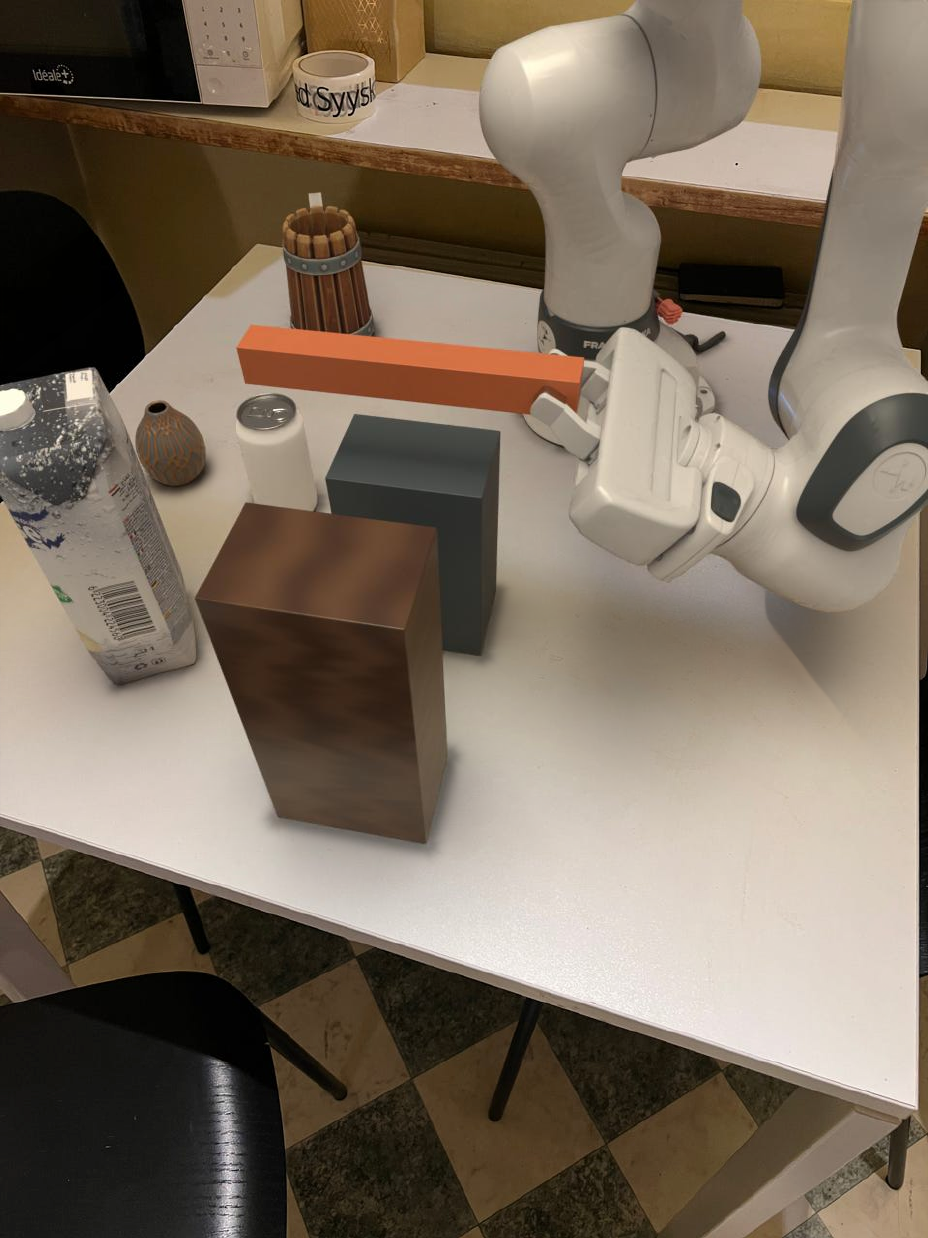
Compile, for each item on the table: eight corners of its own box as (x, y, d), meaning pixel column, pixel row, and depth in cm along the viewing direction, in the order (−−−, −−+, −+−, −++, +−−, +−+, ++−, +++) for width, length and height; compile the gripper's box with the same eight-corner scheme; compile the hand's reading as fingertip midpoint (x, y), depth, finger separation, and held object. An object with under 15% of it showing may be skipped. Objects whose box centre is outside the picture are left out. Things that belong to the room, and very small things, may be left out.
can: (307, 530, 88) (287, 435, 79) (247, 521, 89) (221, 427, 80) (326, 488, 92) (309, 394, 83) (268, 480, 93) (246, 386, 84)
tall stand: (447, 755, 71) (437, 527, 51) (426, 844, 66) (404, 630, 46) (308, 731, 73) (245, 501, 53) (276, 817, 68) (193, 598, 48)
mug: (379, 356, 108) (368, 238, 96) (294, 364, 107) (272, 247, 95) (367, 292, 118) (356, 178, 106) (290, 299, 117) (269, 185, 105)
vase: (180, 503, 91) (157, 436, 84) (133, 480, 93) (107, 413, 86) (225, 466, 95) (206, 399, 88) (179, 445, 97) (156, 379, 90)
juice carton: (190, 588, 83) (96, 339, 62) (209, 670, 77) (110, 423, 56) (96, 613, 81) (-35, 365, 60) (106, 699, 75) (-35, 455, 54)
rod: (580, 394, 61) (584, 357, 59) (575, 419, 59) (579, 382, 57) (258, 360, 64) (250, 323, 62) (244, 383, 62) (235, 347, 60)
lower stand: (496, 590, 82) (500, 430, 68) (480, 656, 77) (482, 498, 63) (375, 573, 84) (354, 413, 70) (352, 636, 79) (324, 477, 64)
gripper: (729, 366, 67) (583, 267, 63) (729, 551, 54) (545, 441, 50) (676, 419, 71) (536, 330, 68) (664, 602, 59) (491, 504, 55)
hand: (540, 379), depth 59 cm, fingers closed on rod, 3 cm apart
